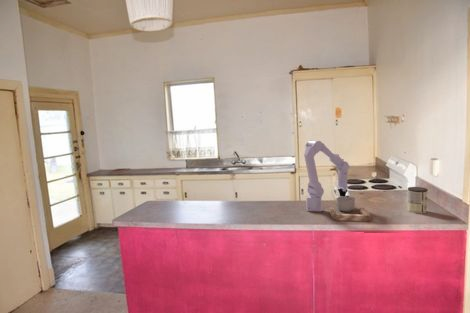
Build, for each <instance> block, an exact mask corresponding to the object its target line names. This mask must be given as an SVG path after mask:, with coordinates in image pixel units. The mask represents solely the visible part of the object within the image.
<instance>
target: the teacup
mask: <svg viewBox="0 0 470 313" xmlns="http://www.w3.org/2000/svg"><path fill="white" fill-rule="evenodd" d="M355 200H356V198H355V197H353V196H348V195H345V196H340V195H339V196H338V197H336V207H337V209H338V210H339V211H341V212H346V213H348V212H352V211H353V210H354V209H355V207H356V206H355Z"/></svg>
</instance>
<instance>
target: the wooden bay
mask: <svg viewBox="0 0 470 313" xmlns="http://www.w3.org/2000/svg"><path fill="white" fill-rule="evenodd" d="M359 213H360V214H355V213H353V214H351V213H350V214H349V213H337V212H336V210H335V209H334V207H333V206H329V214H330V216H331V218H332V220H333V221H346V222H347V221H350V222H351V221H354V222H372V216H371V214H370V213H369V212H368V211H367V210H366V209H365V207H359Z"/></svg>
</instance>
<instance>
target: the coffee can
mask: <svg viewBox="0 0 470 313" xmlns="http://www.w3.org/2000/svg"><path fill="white" fill-rule="evenodd" d="M427 208H428V189H427V188H426V187H422V186H409V187H407V212H409V213H413V214H420V215H421V214H427V210H428V209H427Z"/></svg>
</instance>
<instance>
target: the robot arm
mask: <svg viewBox="0 0 470 313" xmlns="http://www.w3.org/2000/svg"><path fill="white" fill-rule="evenodd" d="M304 147H305V150H304V161H305V166H306V170H307V175H308V183H307V193H308V195H307V196H306V197H305V198H306V199H305V200H306V201H305V208H306V212H323V211H324V210H323V208H322V197H323V195H324V193H325V190H324V188H323V187H322V184H321V182H320V181H319V177H318V172H317V166H316V162H315V156H316V155H317V154H318V153H320V152H322V153H323V154H324V155H326V156H327V157H328V158H329V161H330V162H331V163H332V164H333V165H335V168H336V169H337V175H338V176H337V191H338V193H339V197H340V196H347V195H346V194H347V192H348V188H350V185H348V173H349V170H350V168H351V167H350V165H349V162H348V161H346V160H344V158H341V156H340V155H339V154H338V153H333V152H332V150H330V149H329V148H328V147H327V146H326V145H325V143H324V142H322V141H321V140H308V141H307V142H306V144H305V146H304Z"/></svg>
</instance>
